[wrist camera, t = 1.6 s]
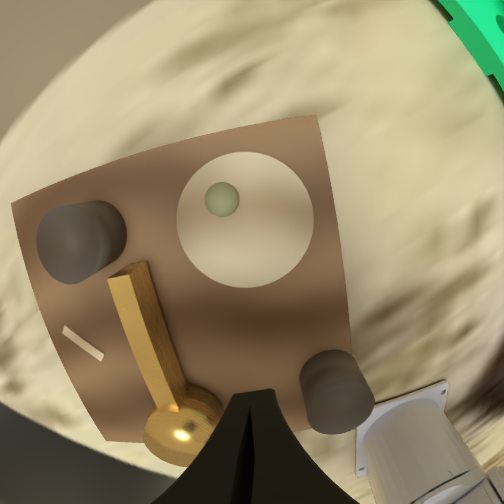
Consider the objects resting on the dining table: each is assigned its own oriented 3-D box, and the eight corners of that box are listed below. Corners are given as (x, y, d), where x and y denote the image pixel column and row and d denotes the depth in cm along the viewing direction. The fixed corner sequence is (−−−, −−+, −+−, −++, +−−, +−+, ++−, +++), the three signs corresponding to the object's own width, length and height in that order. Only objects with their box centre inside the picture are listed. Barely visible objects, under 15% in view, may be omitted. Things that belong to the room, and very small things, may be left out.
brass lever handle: (230, 430, 18) (227, 465, 15) (169, 434, 18) (159, 467, 15) (175, 254, 15) (156, 272, 12) (102, 270, 15) (73, 288, 12)
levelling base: (352, 404, 19) (371, 451, 15) (111, 429, 20) (91, 470, 16) (316, 119, 15) (340, 95, 11) (24, 201, 16) (-26, 209, 11)
